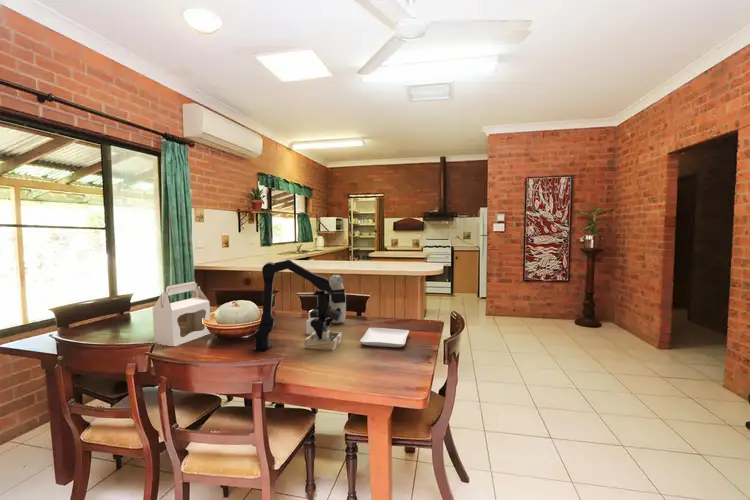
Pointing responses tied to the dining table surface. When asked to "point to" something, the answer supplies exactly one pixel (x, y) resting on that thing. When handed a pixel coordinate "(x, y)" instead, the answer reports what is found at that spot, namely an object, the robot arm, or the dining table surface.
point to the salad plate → (385, 337)
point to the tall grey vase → (337, 283)
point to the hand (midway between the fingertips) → (324, 336)
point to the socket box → (323, 341)
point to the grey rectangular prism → (325, 333)
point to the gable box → (169, 313)
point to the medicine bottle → (311, 316)
